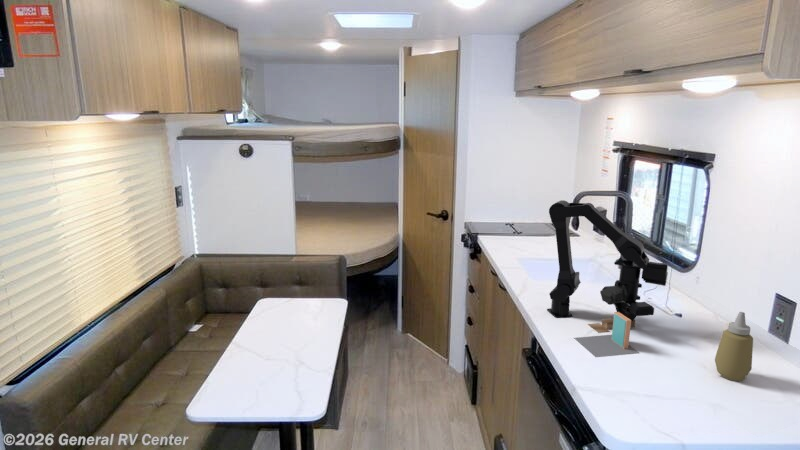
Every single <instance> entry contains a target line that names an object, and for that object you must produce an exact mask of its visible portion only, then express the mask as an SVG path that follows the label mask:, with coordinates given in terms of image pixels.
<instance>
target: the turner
mask: <svg viewBox="0 0 800 450" xmlns="http://www.w3.org/2000/svg"><path fill="white" fill-rule="evenodd" d="M613 321H614V317H611V318H602V321H601V323H599V322H597V323H595V322H594V323H587V326H589V327H590V328H591V329H593V331H595V332H596V333H598V334H599V333H600V334H601V333H611V331H610V330H612V329H613ZM635 327H636V318H635V319H634V320H633V322H632V323H631V328H635Z"/></svg>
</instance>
